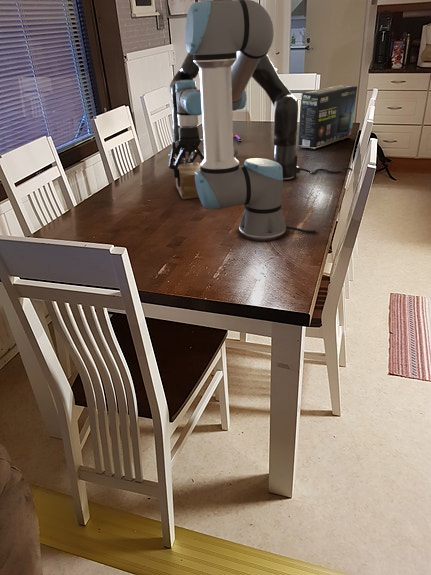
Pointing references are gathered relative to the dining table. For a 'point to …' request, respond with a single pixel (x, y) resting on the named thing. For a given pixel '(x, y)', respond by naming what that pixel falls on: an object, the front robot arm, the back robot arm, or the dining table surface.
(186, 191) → the tan wooden block
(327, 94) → the router box
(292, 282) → the dining table surface
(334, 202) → the dining table surface
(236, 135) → the handgun
